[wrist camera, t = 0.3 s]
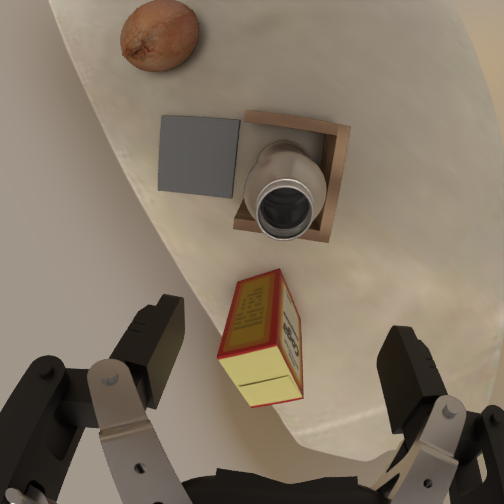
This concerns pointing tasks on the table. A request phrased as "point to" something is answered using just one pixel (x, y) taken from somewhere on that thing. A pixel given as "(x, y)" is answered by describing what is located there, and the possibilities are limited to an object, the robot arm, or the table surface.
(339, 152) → the walnut rack
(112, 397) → the robot arm
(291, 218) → the plastic bottle
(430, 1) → the table surface
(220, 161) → the rubber mat
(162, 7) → the onion
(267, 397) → the baking soda box
